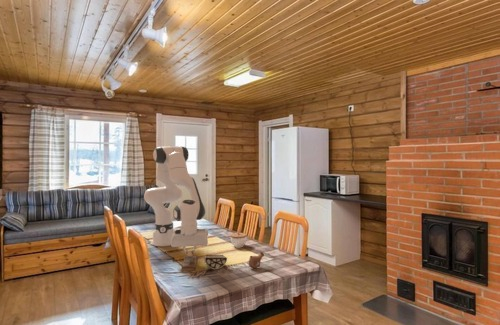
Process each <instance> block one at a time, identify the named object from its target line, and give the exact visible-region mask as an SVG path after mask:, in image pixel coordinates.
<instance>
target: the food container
mask: <svg viewBox="0 0 500 325" xmlns="http://www.w3.org/2000/svg"><path fill="white" fill-rule="evenodd" d="M203 260H204V263H205V265H206V266H207V268H209V269H211V270H220V269H221V268H223V267H224V266H225V265H226V264H227V261H228V257H226V256H225V255H223V254H205V257H204V258H203Z"/></svg>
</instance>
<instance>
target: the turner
mask: <svg viewBox="0 0 500 325" xmlns="http://www.w3.org/2000/svg"><path fill="white" fill-rule="evenodd" d="M187 250H188V252H187V254H186V256H184V259H183V262H184V261H186V260H193V257H194V254H192V250H193V249H187Z"/></svg>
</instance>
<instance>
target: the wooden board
mask: <svg viewBox="0 0 500 325" xmlns="http://www.w3.org/2000/svg"><path fill="white" fill-rule="evenodd" d="M197 259H198V257H197V256H193V260H186V261H184V260H183V263H182V266H181V270H180V271H181V272H192V271H196V265H197Z"/></svg>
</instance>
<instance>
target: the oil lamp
mask: <svg viewBox="0 0 500 325" xmlns="http://www.w3.org/2000/svg"><path fill="white" fill-rule="evenodd" d="M263 257H265V254H264V252H263V251H260V252H259V254H257V255H250V256H249V260H248V266H249V267H250V268H251V269H257V268H259V267H261V260H262V258H263Z"/></svg>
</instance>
